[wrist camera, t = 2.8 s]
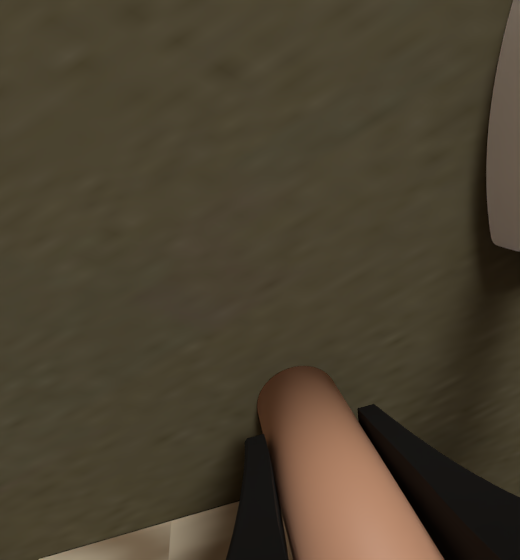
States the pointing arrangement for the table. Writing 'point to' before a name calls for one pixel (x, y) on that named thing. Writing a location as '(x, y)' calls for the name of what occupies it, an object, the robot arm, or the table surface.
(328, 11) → the table surface
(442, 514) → the robot arm
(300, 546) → the peg
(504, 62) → the joystick
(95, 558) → the socket block
